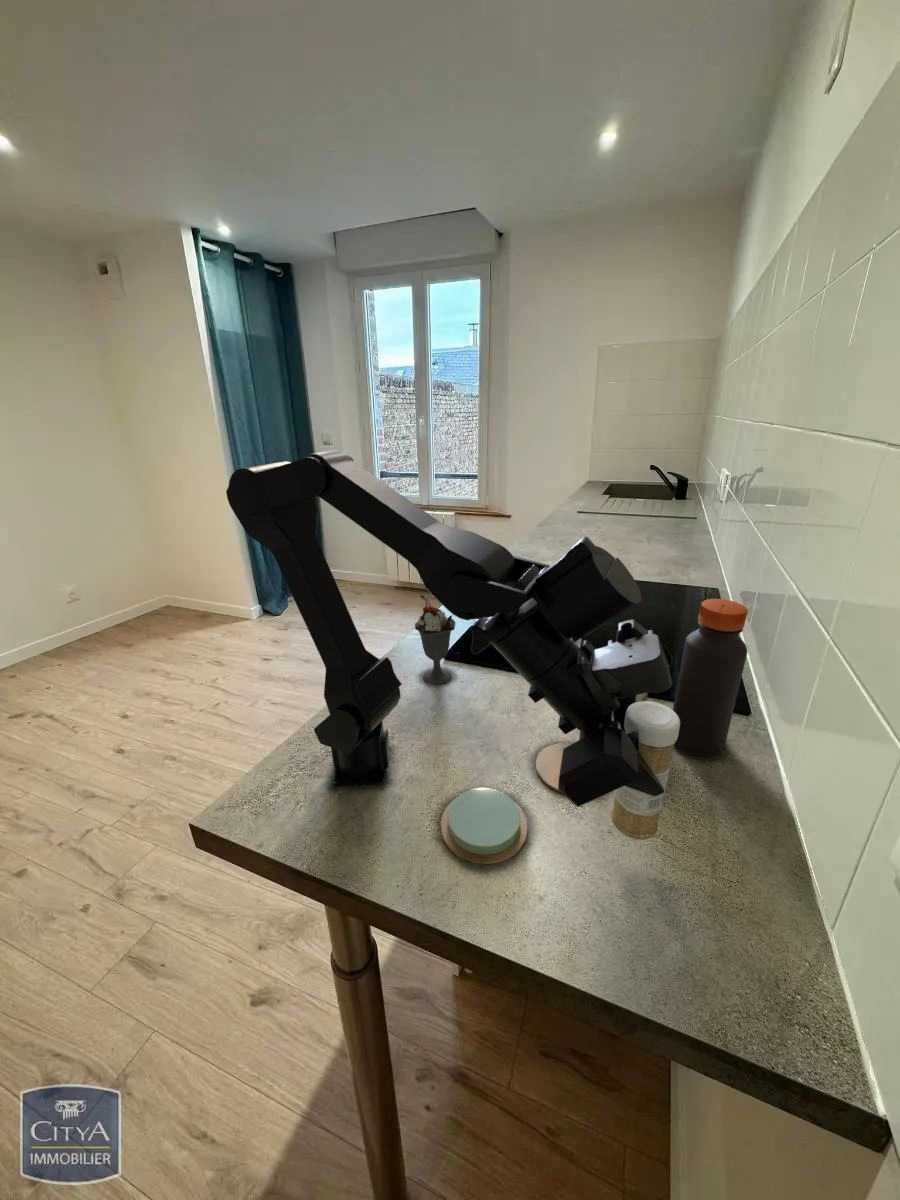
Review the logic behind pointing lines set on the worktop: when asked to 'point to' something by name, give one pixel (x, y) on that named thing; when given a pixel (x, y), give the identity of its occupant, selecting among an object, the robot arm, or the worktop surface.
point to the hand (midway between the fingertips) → (658, 775)
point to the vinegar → (710, 677)
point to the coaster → (550, 764)
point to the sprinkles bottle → (656, 740)
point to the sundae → (435, 641)
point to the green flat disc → (484, 821)
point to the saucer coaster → (478, 857)
